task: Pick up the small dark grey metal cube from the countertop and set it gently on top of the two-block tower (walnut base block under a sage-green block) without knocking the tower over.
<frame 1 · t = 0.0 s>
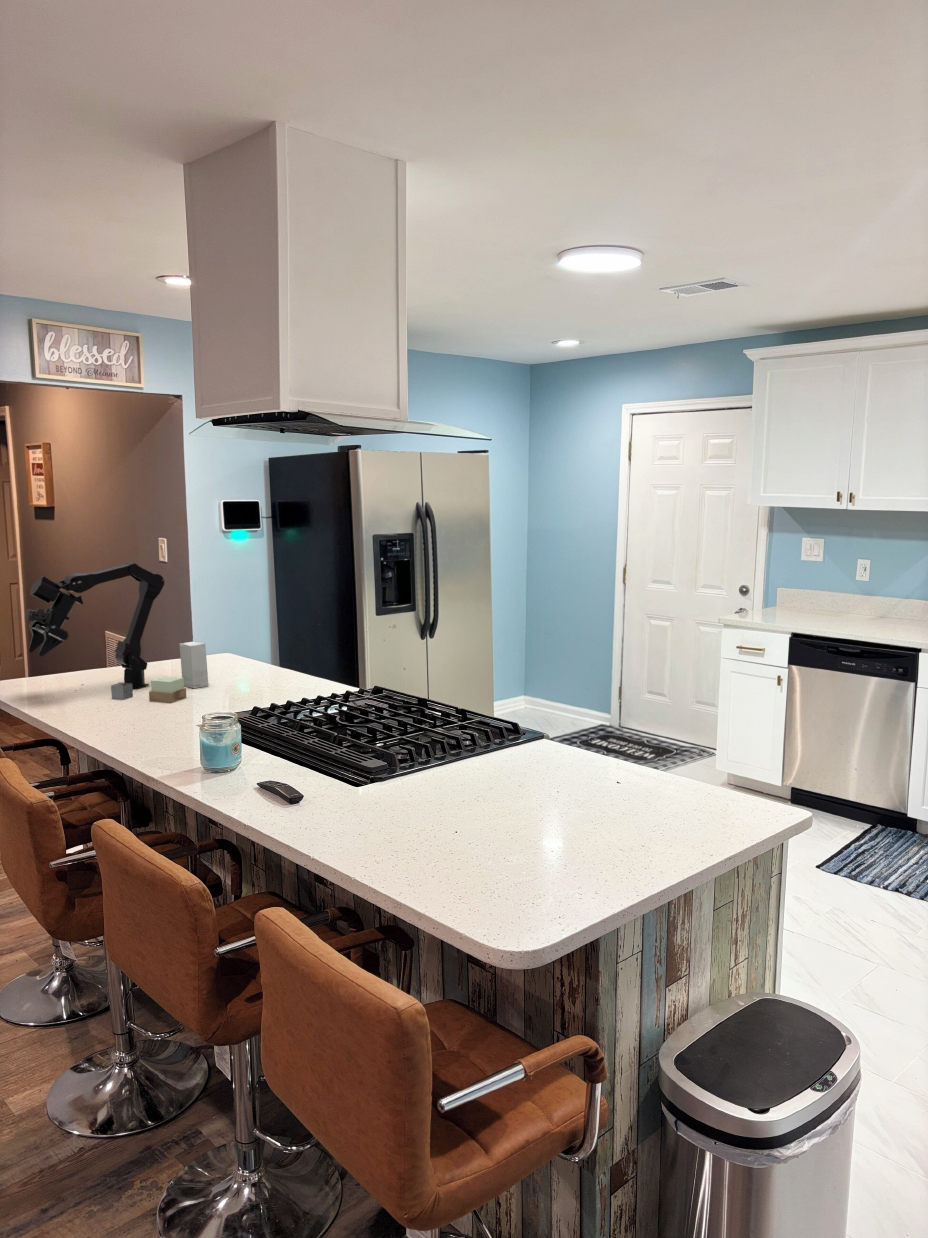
hand: (34, 654, 280), 15 cm above the worktop, tool tilted 35°, fingers open, 9 cm apart
base block: (168, 700, 285), on the worktop, touching top block
top block: (167, 689, 285), point 3 cm above the worktop, touching base block
cube: (122, 698, 287), on the worktop
skincare box: (194, 686, 305), on the worktop
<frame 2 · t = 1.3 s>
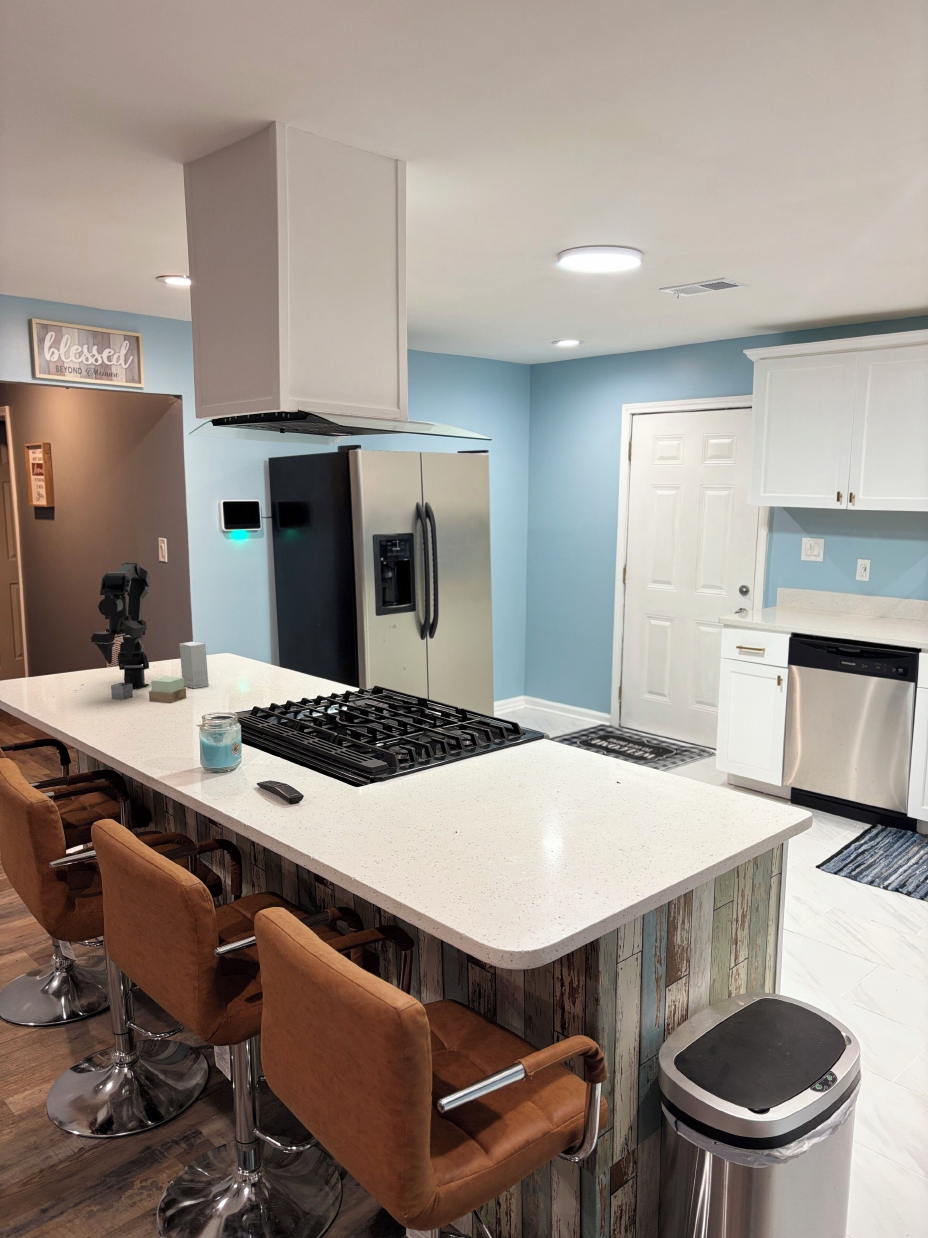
hand: (119, 661, 285), 12 cm above the worktop, tool pointing down, fingers open, 9 cm apart
nothing on the worktop moved.
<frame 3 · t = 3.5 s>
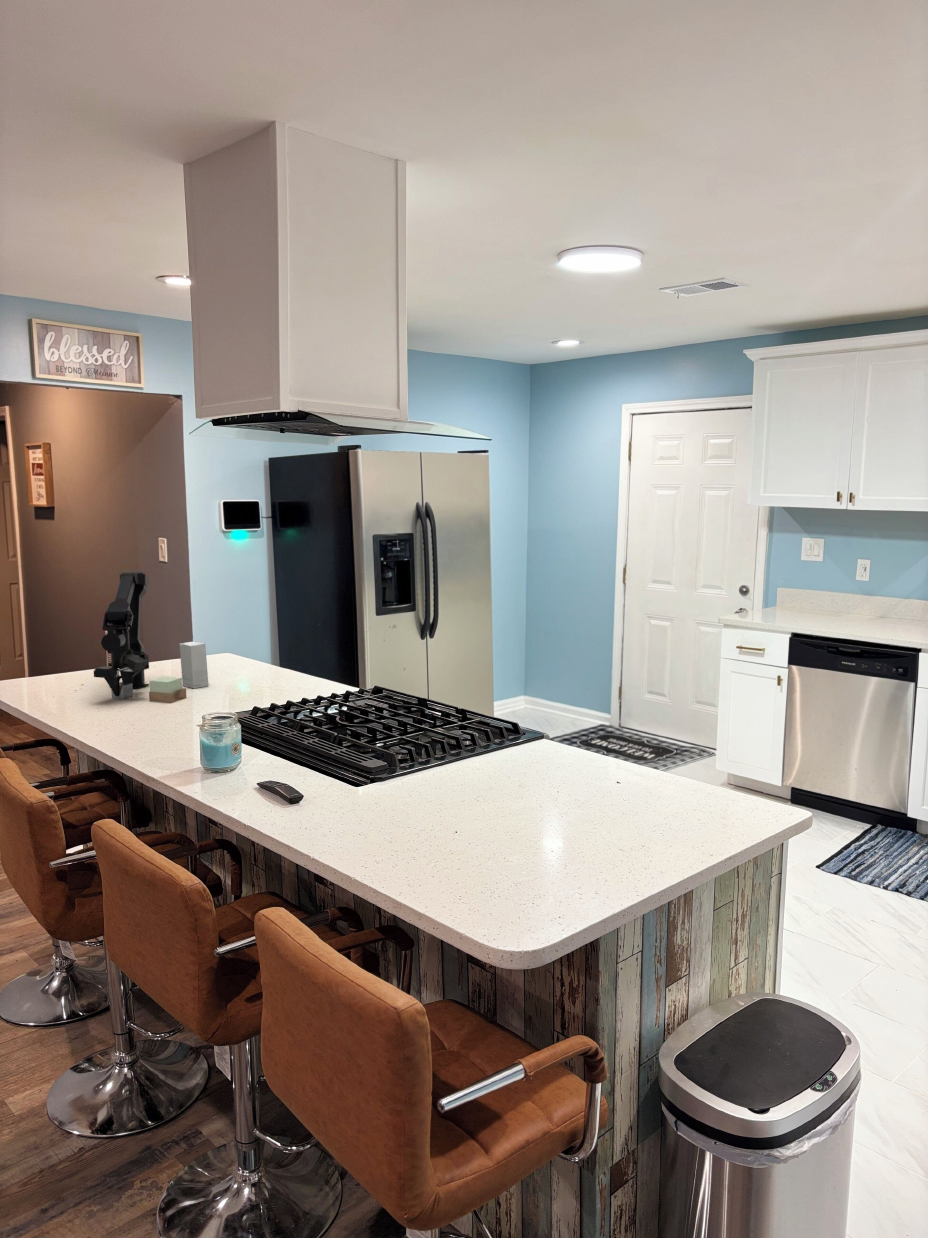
hand: (122, 694, 287), 1 cm above the worktop, tool pointing down, fingers closed on cube, 4 cm apart
cube: (122, 697, 287), on the worktop, touching gripper
everything else where it was.
when the fingers open (8 cm above the worktop, at t = 7.4 s): cube stays where it is, resting on top block.
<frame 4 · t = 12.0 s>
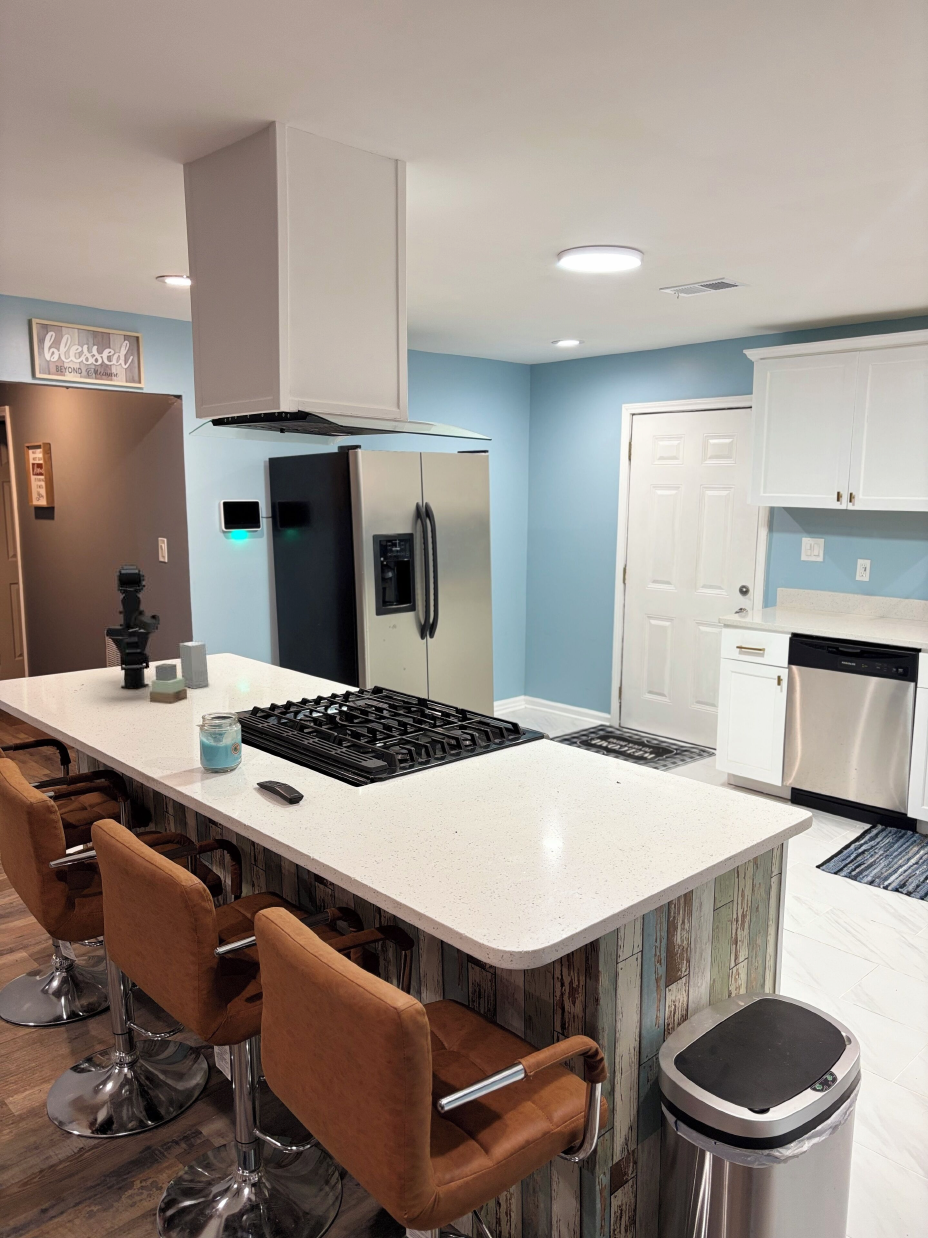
hand: (133, 655, 290), 13 cm above the worktop, tool pointing down, fingers open, 9 cm apart
top block: (168, 690, 284), point 3 cm above the worktop, touching base block, cube
cube: (166, 679, 284), point 7 cm above the worktop, touching top block
everything else where it was.
at the end: cube 0.7 cm off-centre on the top block, point 3.5 cm above the top block's base; top block 0.2 cm off-centre on the base block, point 3.5 cm above the base block's base; the gripper is holding nothing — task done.
